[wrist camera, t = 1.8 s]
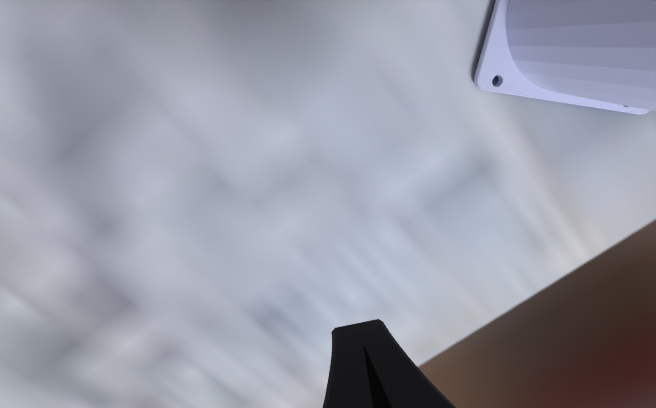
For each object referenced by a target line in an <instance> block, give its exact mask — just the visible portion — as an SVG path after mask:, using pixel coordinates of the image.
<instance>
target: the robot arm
mask: <svg viewBox="0 0 656 408" xmlns="http://www.w3.org/2000/svg"><path fill="white" fill-rule="evenodd" d="M496 75H497V76H498V78H499V81H498V83H497V84H496V85H495V86H493V84H492V80H493V78H494V77H495V76H496ZM474 84H475V86H476V87H477V88H478V89H481V90H485V91H491V92H498V93H504V94H510V95H517V96H523V97H530V98H536V99H543V100H549V101H556V102H562V103H569V104H575V105H582V106H588V107H594V108H601V109H607V110H614V111H620V112H627V113H633V114H640V115H641V114H646V113H648V112H649V111H650V110H652V111H656V0H496V2H495V6H494V9H493V13H492V16H491V20H490V23H489V27H488V30H487V34H486V38H485V41H484V45H483V48H482V52H481V55H480V59H479V63H478V66H477V70H476V73H475V77H474ZM323 408H456V407H455V406H454V405H453V404H452V403H451V402H450V401H449V400H448V399H447V398H446V397H445V396H444V395H443V394H442V393H441V392H440V391H439V390H438V389H437V388H436V387H435V386H434V385H433V384H432V383H431V382H430V381H429V380H428V379H427V377H425V375H424V374H423V373H422V372H421V371H420V370H419V368H418V367H417V366H416V365H415V364H414V363H413V362H412V360H411V359H410V358H409V357H408V356H407V354H406V353H405V352H404V351H403V349H402V348H401V347H400V346H399V344H398V343H397V342H396V340H395V339H394V338H393V336H392V335H391V333H390V332H389V330H388V329H387V328H386V326H385V324H384V323H383V321H381V320H379V319H377V320H372V321H367V322H362V323H357V324H352V325H347V326H342V327H337V328H335V329H334V330H333V331H332V356H331V365H330V372H329V378H328V384H327V389H326V395H325V400H324V404H323Z"/></svg>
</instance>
